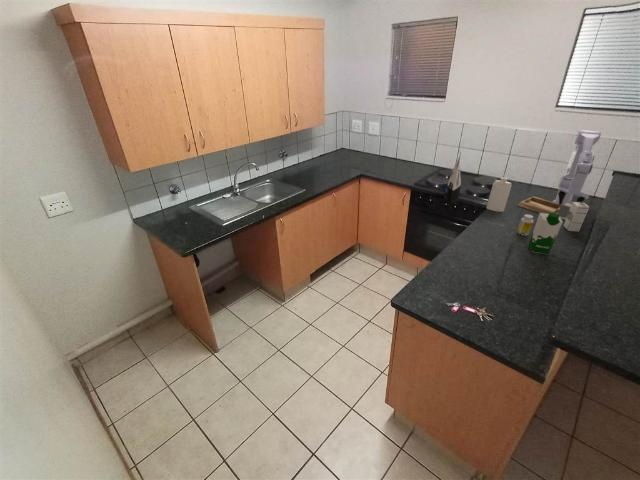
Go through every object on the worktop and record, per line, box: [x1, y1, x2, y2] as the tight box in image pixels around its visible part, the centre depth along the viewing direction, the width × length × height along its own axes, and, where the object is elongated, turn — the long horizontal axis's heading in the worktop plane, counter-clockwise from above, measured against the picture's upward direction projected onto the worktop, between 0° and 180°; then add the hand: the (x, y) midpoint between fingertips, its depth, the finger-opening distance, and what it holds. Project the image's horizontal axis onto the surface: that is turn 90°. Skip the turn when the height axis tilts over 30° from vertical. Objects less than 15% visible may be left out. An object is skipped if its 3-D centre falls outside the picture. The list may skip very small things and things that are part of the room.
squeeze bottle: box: [486, 176, 512, 213], centre depth 189 cm, size 10×20×5 cm
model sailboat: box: [443, 151, 462, 205], centre depth 203 cm, size 10×24×30 cm, turn 157°
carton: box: [518, 196, 562, 214], centre depth 194 cm, size 17×18×3 cm
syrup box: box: [562, 201, 590, 232], centre depth 168 cm, size 6×6×14 cm
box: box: [557, 203, 572, 218], centre depth 184 cm, size 7×4×6 cm, turn 124°
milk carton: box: [528, 213, 564, 255], centre depth 149 cm, size 9×9×20 cm
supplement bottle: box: [516, 214, 534, 236], centre depth 166 cm, size 6×6×10 cm
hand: (567, 206), depth 183 cm, fingers open, 7 cm apart
